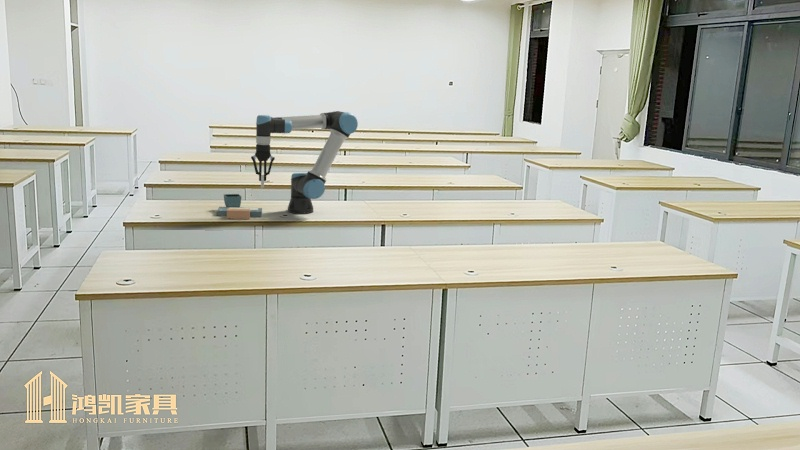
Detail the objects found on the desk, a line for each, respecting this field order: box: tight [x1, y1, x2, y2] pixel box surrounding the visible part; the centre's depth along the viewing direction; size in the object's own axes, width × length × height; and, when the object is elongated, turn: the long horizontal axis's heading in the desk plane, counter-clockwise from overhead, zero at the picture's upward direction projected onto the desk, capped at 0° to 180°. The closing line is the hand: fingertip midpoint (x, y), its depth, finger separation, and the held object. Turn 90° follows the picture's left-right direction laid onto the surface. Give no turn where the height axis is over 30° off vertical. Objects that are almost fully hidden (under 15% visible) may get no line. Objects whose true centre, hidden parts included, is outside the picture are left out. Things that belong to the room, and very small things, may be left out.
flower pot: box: [223, 193, 243, 207], centre depth 390 cm, size 9×9×9 cm
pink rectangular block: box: [226, 208, 251, 220], centre depth 372 cm, size 12×6×5 cm, turn 98°
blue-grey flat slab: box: [216, 206, 263, 218], centre depth 381 cm, size 24×11×3 cm, turn 98°
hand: (262, 187), depth 369 cm, fingers closed
